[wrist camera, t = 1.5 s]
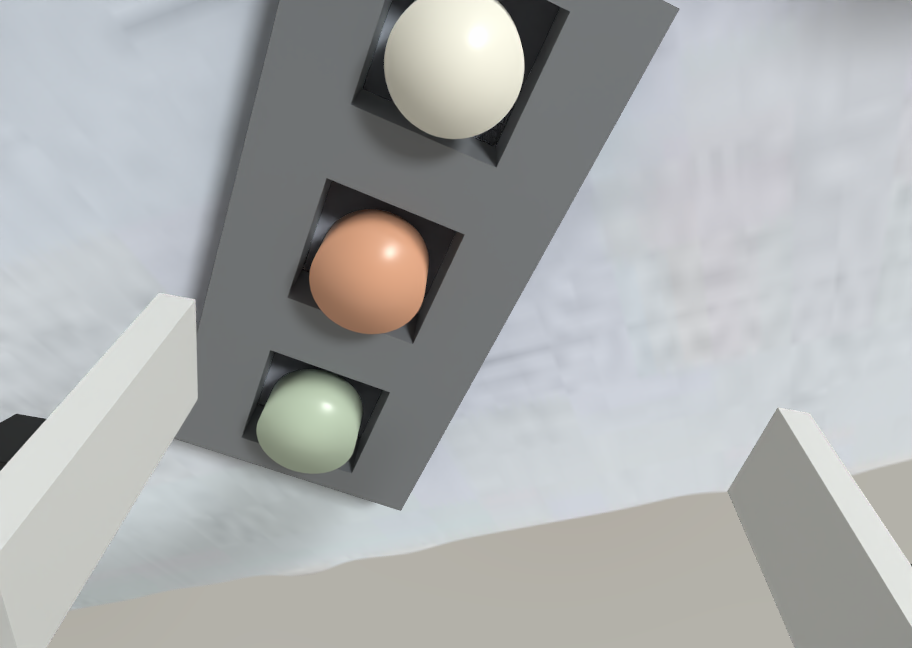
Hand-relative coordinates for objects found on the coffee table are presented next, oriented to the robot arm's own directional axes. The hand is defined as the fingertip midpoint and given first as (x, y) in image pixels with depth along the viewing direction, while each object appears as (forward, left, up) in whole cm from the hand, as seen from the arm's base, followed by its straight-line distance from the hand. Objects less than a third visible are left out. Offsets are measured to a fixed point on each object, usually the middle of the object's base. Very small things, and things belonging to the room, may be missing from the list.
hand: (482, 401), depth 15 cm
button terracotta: (-3, -6, -16) cm, 18 cm away
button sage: (-3, -16, -16) cm, 23 cm away
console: (-3, -6, -18) cm, 20 cm away
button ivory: (-3, +4, -16) cm, 17 cm away
